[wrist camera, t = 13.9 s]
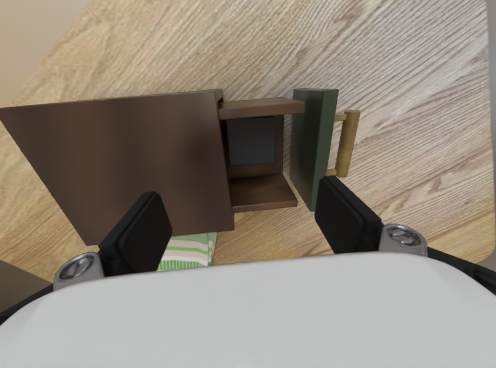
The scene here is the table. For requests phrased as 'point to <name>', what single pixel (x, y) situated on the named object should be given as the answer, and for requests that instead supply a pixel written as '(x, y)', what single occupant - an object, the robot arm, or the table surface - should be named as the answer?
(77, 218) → the cabinet
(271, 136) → the block
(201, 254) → the dish towel
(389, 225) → the robot arm
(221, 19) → the table surface
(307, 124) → the drawer
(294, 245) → the table surface
